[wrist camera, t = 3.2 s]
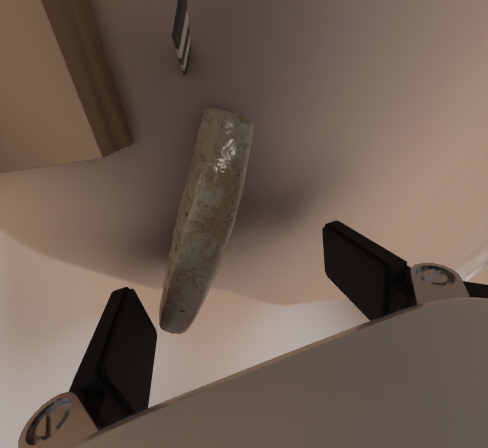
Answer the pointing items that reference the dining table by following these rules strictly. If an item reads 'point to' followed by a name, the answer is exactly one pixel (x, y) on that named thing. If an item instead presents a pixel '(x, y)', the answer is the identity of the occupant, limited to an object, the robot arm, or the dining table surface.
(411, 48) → the dining table surface
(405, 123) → the dining table surface
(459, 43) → the dining table surface
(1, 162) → the tan box
